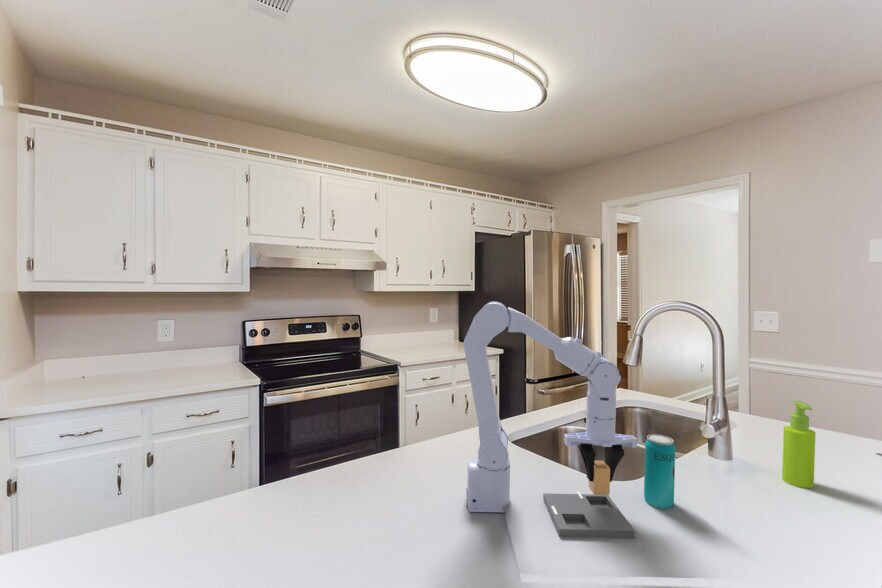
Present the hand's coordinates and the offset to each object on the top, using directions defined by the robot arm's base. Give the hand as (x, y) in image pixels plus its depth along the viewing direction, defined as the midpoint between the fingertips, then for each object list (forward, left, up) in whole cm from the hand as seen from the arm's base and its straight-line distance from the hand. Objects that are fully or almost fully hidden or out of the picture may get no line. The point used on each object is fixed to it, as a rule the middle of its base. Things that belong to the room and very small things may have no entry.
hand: (599, 479), depth 86 cm
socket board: (-4, -4, -7) cm, 9 cm away
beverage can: (+14, +3, -7) cm, 16 cm away
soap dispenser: (+54, +15, -7) cm, 57 cm away
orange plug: (0, 0, -2) cm, 2 cm away
